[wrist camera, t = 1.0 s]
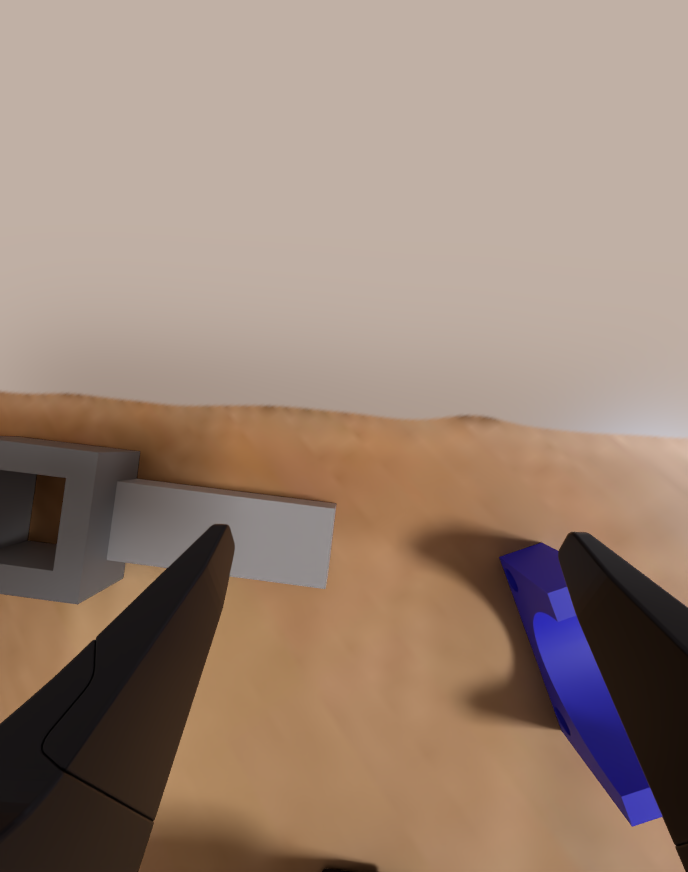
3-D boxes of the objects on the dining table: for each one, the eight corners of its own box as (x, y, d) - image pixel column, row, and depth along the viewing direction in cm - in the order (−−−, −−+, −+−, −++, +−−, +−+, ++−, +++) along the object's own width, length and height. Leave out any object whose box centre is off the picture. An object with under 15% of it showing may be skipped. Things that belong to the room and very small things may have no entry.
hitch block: (324, 605, 24) (318, 637, 20) (0, 561, 24) (-69, 584, 20) (339, 475, 24) (336, 481, 20) (18, 436, 25) (-47, 434, 21)
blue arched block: (624, 707, 23) (719, 797, 17) (560, 728, 23) (632, 826, 17) (561, 534, 24) (632, 564, 18) (498, 556, 24) (547, 593, 18)
